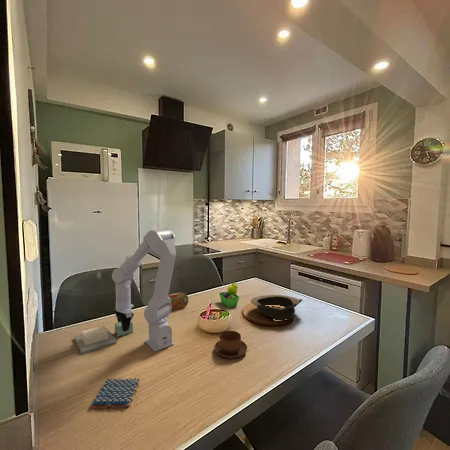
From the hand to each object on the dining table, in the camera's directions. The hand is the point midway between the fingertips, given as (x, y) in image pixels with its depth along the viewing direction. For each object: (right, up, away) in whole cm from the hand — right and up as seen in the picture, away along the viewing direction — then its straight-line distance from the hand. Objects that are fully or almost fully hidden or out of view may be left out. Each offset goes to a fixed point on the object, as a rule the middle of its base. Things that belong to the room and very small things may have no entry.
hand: (123, 328), depth 108 cm
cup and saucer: (+44, -4, -13) cm, 46 cm away
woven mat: (+12, -5, -35) cm, 37 cm away
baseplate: (-9, -2, -7) cm, 11 cm away
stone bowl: (+67, -1, +21) cm, 70 cm away
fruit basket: (+45, 0, +34) cm, 56 cm away
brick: (0, -2, 0) cm, 2 cm away
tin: (+16, -1, +25) cm, 29 cm away
